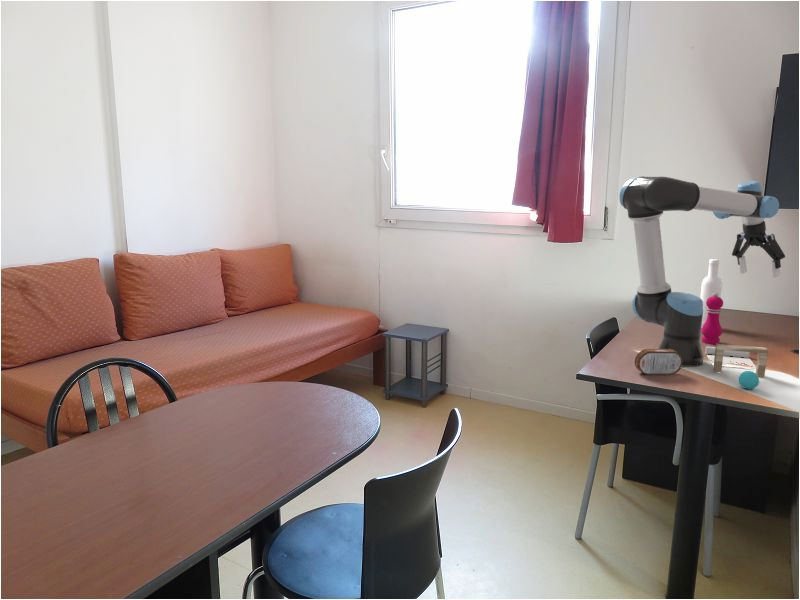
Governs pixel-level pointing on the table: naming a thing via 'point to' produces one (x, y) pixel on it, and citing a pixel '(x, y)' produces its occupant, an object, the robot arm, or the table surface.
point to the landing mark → (733, 360)
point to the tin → (658, 361)
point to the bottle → (710, 286)
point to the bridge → (760, 350)
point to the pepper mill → (712, 320)
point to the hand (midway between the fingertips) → (759, 274)
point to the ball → (748, 379)
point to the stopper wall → (728, 352)
